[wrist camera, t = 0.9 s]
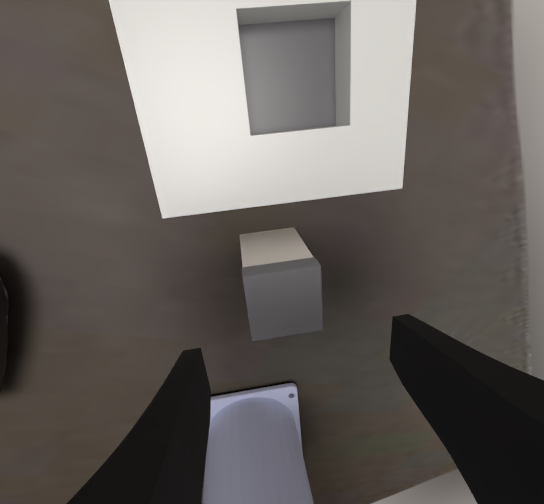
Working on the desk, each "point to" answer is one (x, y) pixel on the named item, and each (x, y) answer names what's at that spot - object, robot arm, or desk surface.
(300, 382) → the desk surface
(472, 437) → the robot arm
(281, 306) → the plug
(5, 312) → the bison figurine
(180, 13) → the socket plate
